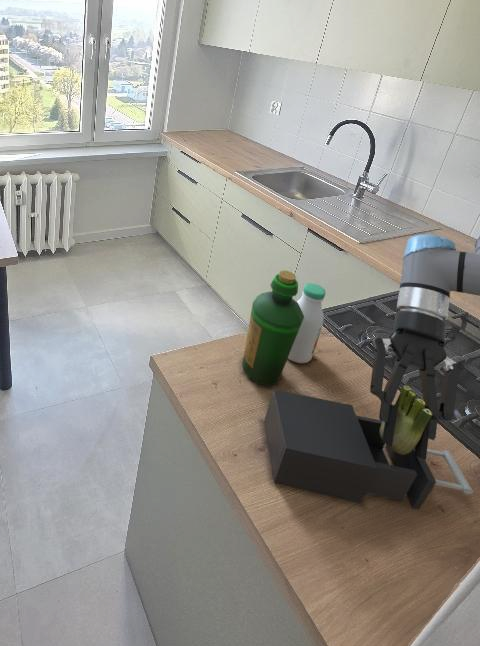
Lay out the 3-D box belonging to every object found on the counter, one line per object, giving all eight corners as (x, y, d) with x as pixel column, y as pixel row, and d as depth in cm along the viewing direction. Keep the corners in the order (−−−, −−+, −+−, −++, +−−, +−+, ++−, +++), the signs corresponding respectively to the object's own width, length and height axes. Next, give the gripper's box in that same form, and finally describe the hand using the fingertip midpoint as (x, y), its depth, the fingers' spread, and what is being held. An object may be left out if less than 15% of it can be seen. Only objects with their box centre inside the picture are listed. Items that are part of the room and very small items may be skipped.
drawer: (435, 457, 81) (450, 430, 78) (469, 522, 71) (489, 493, 68) (318, 432, 85) (329, 406, 82) (335, 490, 75) (348, 462, 71)
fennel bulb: (412, 463, 72) (438, 416, 67) (379, 452, 73) (402, 404, 68) (404, 434, 77) (428, 388, 72) (374, 424, 78) (395, 378, 73)
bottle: (254, 348, 107) (278, 255, 95) (293, 376, 99) (325, 279, 87) (228, 367, 101) (251, 270, 89) (267, 398, 93) (297, 297, 82)
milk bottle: (303, 369, 101) (325, 303, 93) (273, 351, 106) (291, 286, 98) (316, 353, 106) (338, 289, 98) (287, 337, 111) (305, 274, 103)
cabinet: (338, 437, 85) (352, 404, 81) (360, 503, 74) (377, 468, 70) (263, 421, 88) (273, 389, 84) (273, 482, 76) (285, 448, 72)
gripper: (468, 334, 77) (455, 471, 70) (362, 304, 84) (341, 426, 77) (489, 330, 71) (477, 480, 64) (373, 297, 77) (351, 430, 71)
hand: (403, 450), depth 70 cm, fingers closed on fennel bulb, 4 cm apart
